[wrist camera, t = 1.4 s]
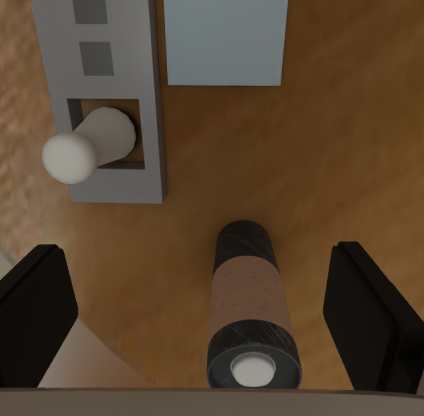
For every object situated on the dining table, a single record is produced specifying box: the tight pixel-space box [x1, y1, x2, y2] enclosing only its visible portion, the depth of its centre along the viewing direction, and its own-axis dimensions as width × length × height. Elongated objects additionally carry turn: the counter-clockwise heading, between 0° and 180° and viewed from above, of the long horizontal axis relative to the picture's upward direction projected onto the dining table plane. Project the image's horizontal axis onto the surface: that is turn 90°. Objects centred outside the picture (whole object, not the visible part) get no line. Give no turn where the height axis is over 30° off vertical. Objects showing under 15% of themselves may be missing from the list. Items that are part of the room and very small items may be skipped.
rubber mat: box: [164, 0, 288, 86], centre depth 31 cm, size 12×12×1 cm
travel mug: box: [207, 221, 302, 389], centre depth 33 cm, size 8×8×20 cm
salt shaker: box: [42, 107, 136, 184], centre depth 31 cm, size 6×6×13 cm
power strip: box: [30, 0, 167, 204], centre depth 33 cm, size 26×11×4 cm, turn 0°
